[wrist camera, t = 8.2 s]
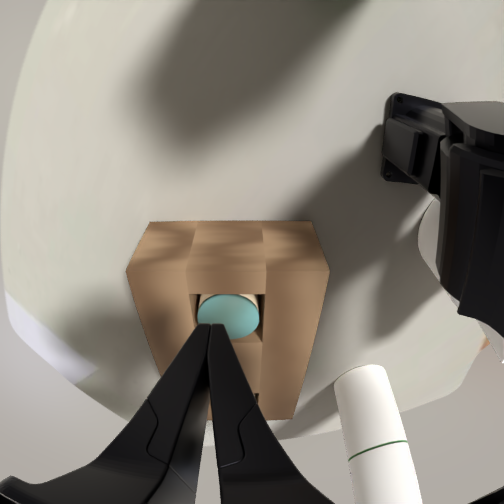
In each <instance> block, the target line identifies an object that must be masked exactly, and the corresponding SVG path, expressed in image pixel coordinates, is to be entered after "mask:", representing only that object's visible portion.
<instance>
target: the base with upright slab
mask: <svg viewBox="0 0 504 504" xmlns="http://www.w3.org/2000/svg"><path fill="white" fill-rule="evenodd" d="M439 216H440V202H439V201H438V200H437V199H436V198H435V199H434V200H433V201H432V203H431V204H430V206H429V207H428V209H427V210H426V212H425V214H424V216H423V219H422V221H421V224H420V227H419V232H418V249H419V251H420V254H421V256H422V258H423V259H424V261H425V262H426V263H427V265H428V266H429V268H430V269H431V270H432V272H433V273H434V275H435V276H436V278H437V279H438V280H440V276H439V274H438V270H437V267H436V263H435V260H436V252H437V242H438V230H439ZM439 282H440V281H439ZM445 291H446V290H445ZM446 292H447V291H446ZM447 294H448V295H449V297H450V298H451V300H452V301H453V303H454V304H455V305H456V306H457V307H458V306H459V301H458V300H456V299H455V298H454V297H453V296H451V295H450V294H449V293H448V292H447ZM476 320H477V319H476ZM477 322H478V323H479V325H480V327H481V328H482V330H483V332H484V333H485V335H486V337H487V338H488V340H489V342H490V343H491V345H492V347H493V349H494V350H495V352H496V354H497V356H498V358H499V359H500V361H501V363H504V338H503V337H502V336H501V335H500V334H499V333H497V332H496V331H495V330H494V329H493V328H491V327H490V326H489V325H487V324H485V323H483V322H481V321H479V320H477Z"/></svg>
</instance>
